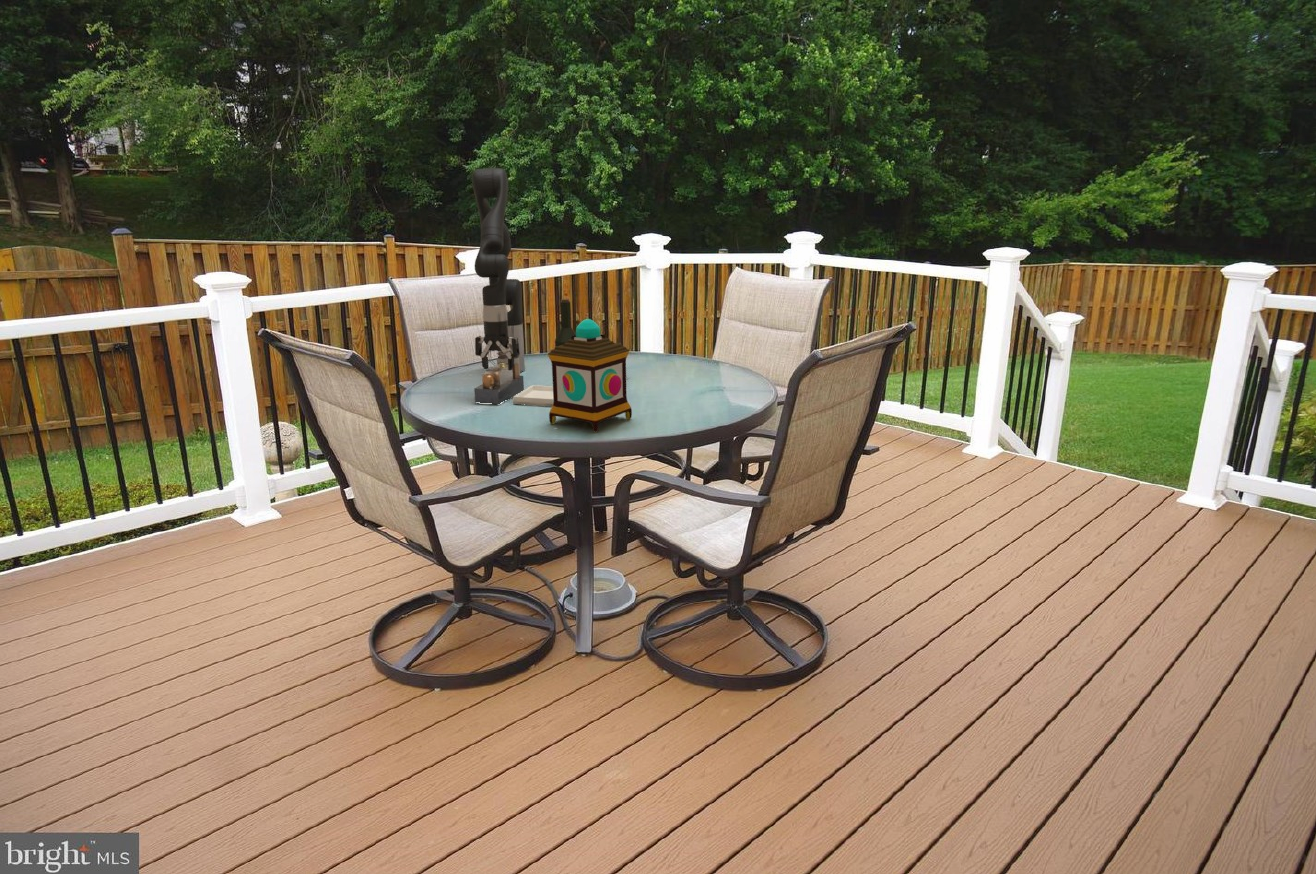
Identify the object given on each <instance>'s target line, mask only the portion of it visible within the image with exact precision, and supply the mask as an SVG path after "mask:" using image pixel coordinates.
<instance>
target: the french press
mask: <svg viewBox="0 0 1316 874" xmlns="http://www.w3.org/2000/svg"><path fill="white" fill-rule="evenodd" d="M507 312H509V309H507ZM509 338H512V337H509ZM518 342H519V341H518ZM509 344H511V343H510V342H509V343H508V345H509ZM491 352H492V351H490V352H489V354H488V355H487V357H488V361H489V362H490V364H491V365H493V367H494V366H496V365H499V363H508V359H506V358H508V357H507V356H506V354H504V353H503V351H501V352H498V351H497V355H498V356H497V358H496V363H495V361H494V360H493V359H492V353H491ZM512 352H513V351H512ZM499 355H500V356H499ZM504 359H506V360H504ZM514 364H518V366H519V376H521V372H520V365H519V356H517V357H515V358H514Z"/></svg>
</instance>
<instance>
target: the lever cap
mask: <svg viewBox="0 0 1316 874" xmlns="http://www.w3.org/2000/svg"><path fill="white" fill-rule="evenodd" d="M495 365H496V364H495ZM484 374H493V375H494V385H495V386H501V385H503V384H505V383H506V382H508V381H510V380H512V379H513V371H512V370H508V365H506V364H505V363H499V365H496V366H494V365H493V366H492V367H489V368H488V369H485V371H484Z"/></svg>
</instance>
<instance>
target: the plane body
mask: <svg viewBox="0 0 1316 874" xmlns="http://www.w3.org/2000/svg"><path fill="white" fill-rule="evenodd" d="M505 364H506V365H508V363H505ZM514 365H515V366H514V368H513V370H512V371H513V379H512V380H510V381H508V382H506V383H505V384H503V385H501V386H495V385H494V375H493V374H485V373H484V374H482V375H481V377H482V379H481V380H482V384H480V385H479V386H476V387H474V389H473V392H474V402H480V403H492V404H500V403H501V402H503V401H505V400H507V401H509V400H510V398H511V397H512V398H513V396H515V395H516V394H518V393H520V392H521V391H523V390H525V385H524V383H525V382H524V375H520V376H519V366H518V364H514ZM512 398H511V399H512ZM508 399H509V400H508ZM500 405H501V404H500Z"/></svg>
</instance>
